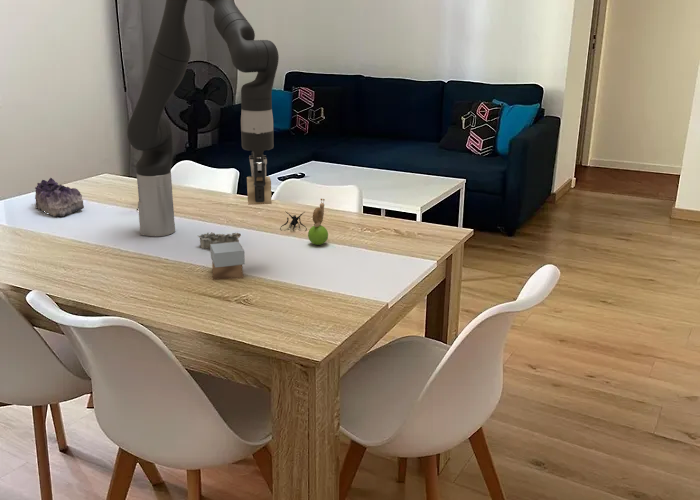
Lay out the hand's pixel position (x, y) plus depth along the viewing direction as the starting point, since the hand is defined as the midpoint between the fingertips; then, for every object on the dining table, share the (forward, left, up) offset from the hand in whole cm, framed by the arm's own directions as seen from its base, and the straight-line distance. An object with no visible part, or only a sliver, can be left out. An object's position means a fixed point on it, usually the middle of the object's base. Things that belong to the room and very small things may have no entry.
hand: (259, 198), depth 175 cm
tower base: (-8, -5, -18) cm, 20 cm away
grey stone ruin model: (-11, +16, -18) cm, 26 cm away
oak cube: (0, 0, -1) cm, 1 cm away
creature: (+10, +29, -18) cm, 36 cm away
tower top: (-8, -5, -14) cm, 17 cm away
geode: (-62, +58, -18) cm, 87 cm away
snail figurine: (+16, +15, -17) cm, 28 cm away
